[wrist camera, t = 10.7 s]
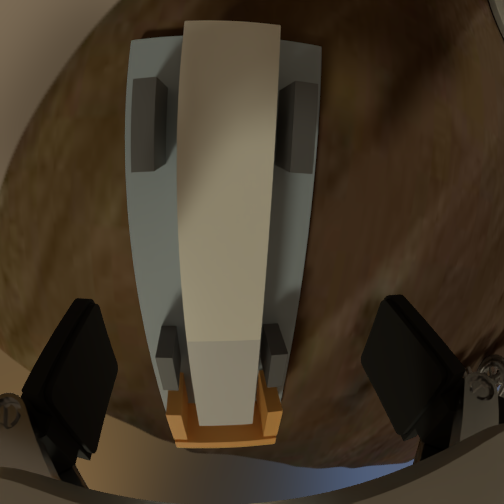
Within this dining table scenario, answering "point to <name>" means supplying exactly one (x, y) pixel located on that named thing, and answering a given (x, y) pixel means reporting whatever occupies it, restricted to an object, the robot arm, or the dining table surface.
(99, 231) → the dining table surface
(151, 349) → the clip rail
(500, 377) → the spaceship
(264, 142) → the long cream stick
